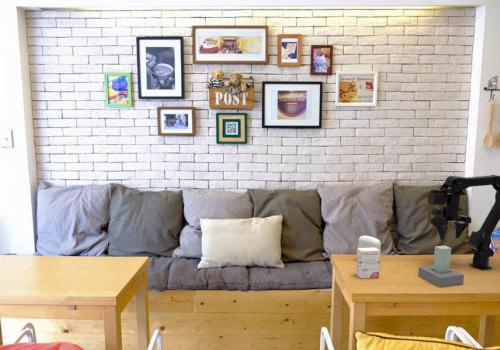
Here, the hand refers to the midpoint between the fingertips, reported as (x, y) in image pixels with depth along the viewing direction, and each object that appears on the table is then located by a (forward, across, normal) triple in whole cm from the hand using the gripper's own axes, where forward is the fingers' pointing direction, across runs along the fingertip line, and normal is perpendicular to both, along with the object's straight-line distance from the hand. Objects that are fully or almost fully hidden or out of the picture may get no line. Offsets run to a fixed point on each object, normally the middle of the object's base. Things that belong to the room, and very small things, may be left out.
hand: (449, 239), depth 182 cm
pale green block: (+12, +15, +10) cm, 22 cm away
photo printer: (+13, +30, -17) cm, 37 cm away
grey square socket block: (+13, +15, +10) cm, 22 cm away
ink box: (+13, +41, -4) cm, 43 cm away
